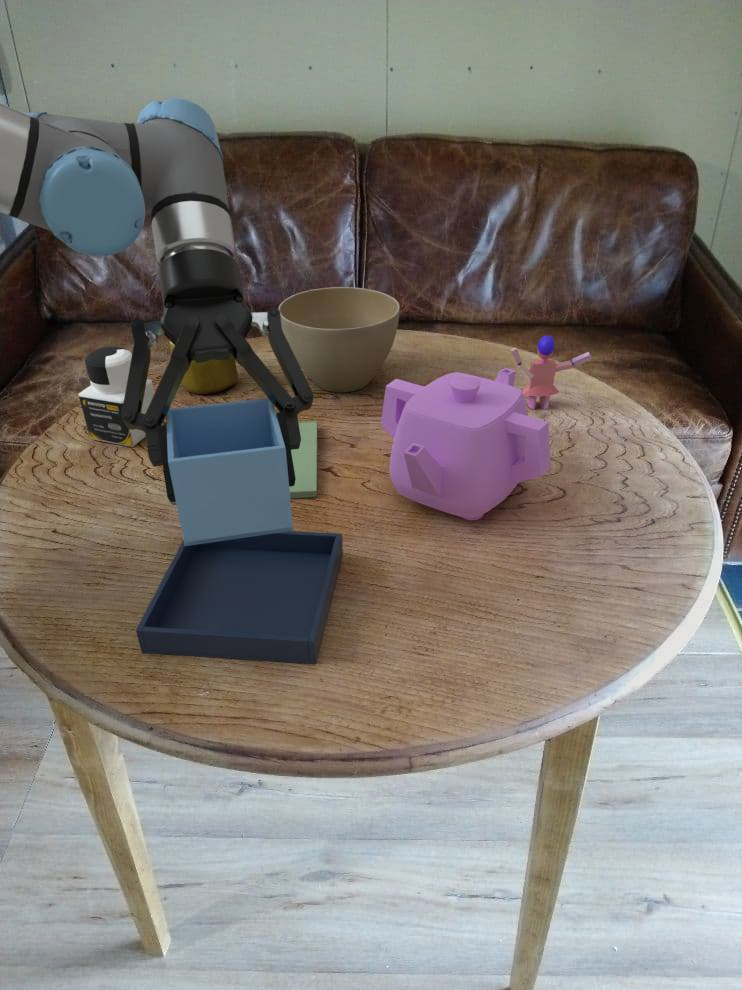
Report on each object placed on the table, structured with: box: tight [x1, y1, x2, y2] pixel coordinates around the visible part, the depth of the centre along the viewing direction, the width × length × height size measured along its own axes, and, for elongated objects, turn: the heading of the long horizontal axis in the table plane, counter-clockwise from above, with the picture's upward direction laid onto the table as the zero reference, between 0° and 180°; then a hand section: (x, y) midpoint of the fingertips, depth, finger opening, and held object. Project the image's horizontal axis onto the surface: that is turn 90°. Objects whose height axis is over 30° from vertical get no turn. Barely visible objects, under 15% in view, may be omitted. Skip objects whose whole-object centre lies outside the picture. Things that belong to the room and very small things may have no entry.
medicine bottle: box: [78, 346, 155, 448], centre depth 109 cm, size 7×7×12 cm
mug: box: [168, 340, 239, 395], centre depth 124 cm, size 12×10×10 cm
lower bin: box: [135, 530, 344, 665], centre depth 83 cm, size 17×17×3 cm
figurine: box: [509, 335, 592, 410], centre depth 116 cm, size 3×12×11 cm, turn 100°
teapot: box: [380, 367, 551, 521], centre depth 96 cm, size 19×18×15 cm
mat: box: [170, 421, 318, 505], centre depth 106 cm, size 18×18×1 cm
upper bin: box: [165, 397, 294, 546], centre depth 75 cm, size 10×10×9 cm
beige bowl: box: [278, 286, 401, 393], centre depth 122 cm, size 18×18×12 cm
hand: (232, 490), depth 73 cm, fingers closed on upper bin, 10 cm apart
